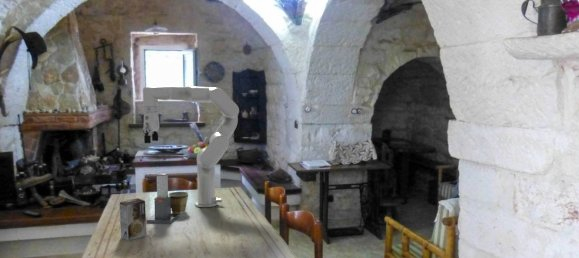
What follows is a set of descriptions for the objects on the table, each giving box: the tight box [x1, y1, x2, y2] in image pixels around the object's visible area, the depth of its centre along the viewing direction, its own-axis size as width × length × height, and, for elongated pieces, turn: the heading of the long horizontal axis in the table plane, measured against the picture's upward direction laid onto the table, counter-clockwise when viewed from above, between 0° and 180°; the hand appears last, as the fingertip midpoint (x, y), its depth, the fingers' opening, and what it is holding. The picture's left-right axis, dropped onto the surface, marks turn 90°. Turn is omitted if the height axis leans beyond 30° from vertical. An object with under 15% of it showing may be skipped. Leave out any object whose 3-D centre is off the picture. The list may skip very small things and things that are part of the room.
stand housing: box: [146, 195, 180, 225], centre depth 226 cm, size 12×12×12 cm
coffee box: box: [119, 198, 147, 242], centre depth 201 cm, size 9×6×16 cm
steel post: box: [156, 172, 169, 198], centre depth 225 cm, size 4×4×16 cm
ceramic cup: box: [168, 191, 189, 215], centre depth 240 cm, size 13×10×10 cm
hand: (151, 141), depth 242 cm, fingers open, 9 cm apart
